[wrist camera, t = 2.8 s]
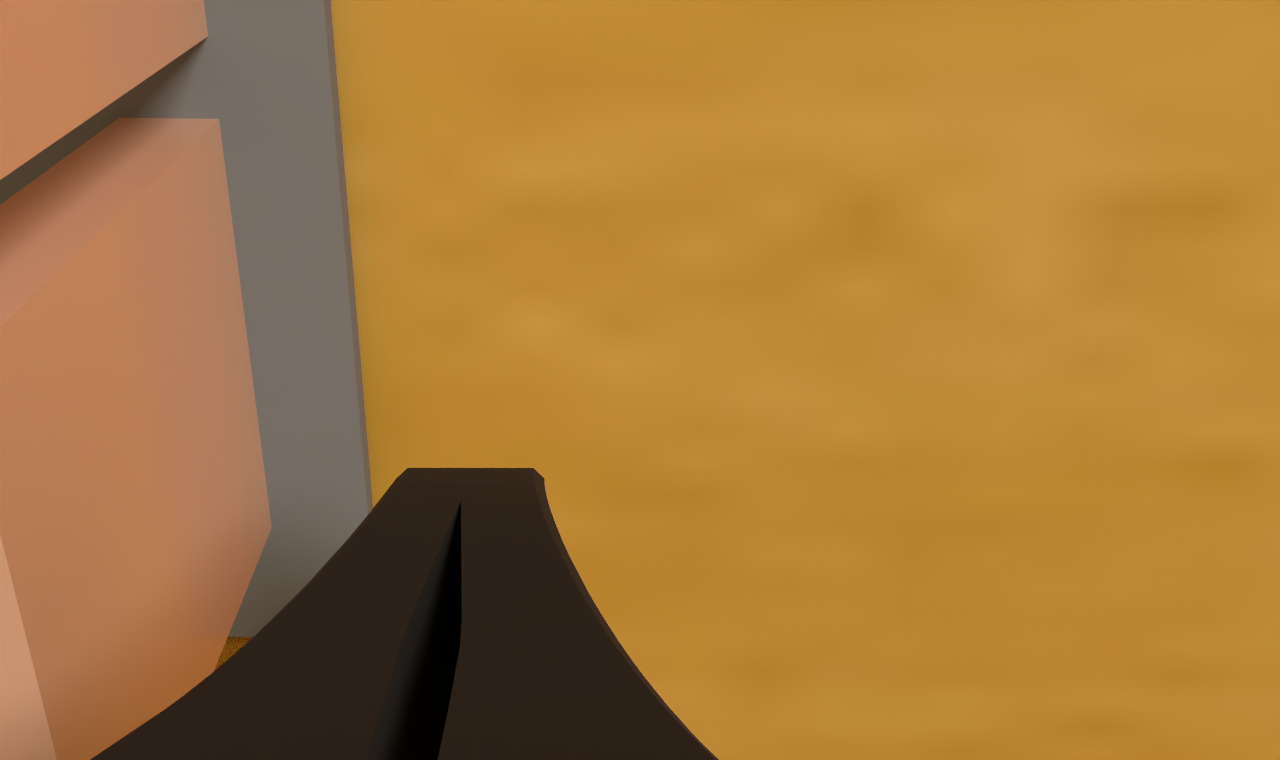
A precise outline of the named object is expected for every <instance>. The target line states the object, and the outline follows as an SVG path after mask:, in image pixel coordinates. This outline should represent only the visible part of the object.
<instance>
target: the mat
mask: <svg viewBox="0 0 1280 760" xmlns="http://www.w3.org/2000/svg"><path fill="white" fill-rule="evenodd" d="M204 7H205V15H206V23H207V30H208V37H206V38H205V39H203V40H202V41H200V42H199V43H198V44H196V45H195V46H193V47H192V48H190V49H189V50H187V51H186V52H185V53H183V54H182V55H180V56H179V57H177V58H176V59H174V60H173V61H171V62H170V63H169V64H167V65H166V66H164V67H163V68H161V69H160V70H158V71H157V72H156V73H154V74H153V75H151V76H150V77H148V78H147V79H145V80H144V81H143V82H141V83H140V84H138V85H137V86H135V87H134V88H132V89H131V90H130V91H128V92H127V93H125V94H124V95H122V96H121V97H119V98H118V99H117V100H115V101H114V102H112V103H111V104H109V105H108V106H106V107H105V108H104V109H102V110H101V111H99V112H98V113H96V114H95V115H93V116H92V117H91V118H89V119H88V120H86V121H85V122H83V123H82V124H80V125H79V126H78V127H76V128H75V129H73V130H72V131H70V132H69V133H67V134H66V135H65V136H63V137H62V138H60V139H59V140H57V141H56V142H54V143H53V144H52V145H50V146H49V147H47V148H46V149H44V150H43V151H41V152H40V153H38V154H37V155H36V156H34V157H33V158H31V159H30V160H28V161H27V162H25V163H24V164H23V165H21V166H20V167H18V168H17V169H15V170H14V171H12V172H11V173H10V174H8V175H7V176H5V177H4V178H2V179H1V180H0V205H1V204H2V203H4V202H5V201H6V200H8V199H9V198H11V197H12V196H13V195H15V194H16V193H17V192H19V191H20V190H21V189H23V188H24V187H26V186H27V185H28V184H30V183H31V182H32V181H34V180H35V179H36V178H38V177H39V176H40V175H42V174H43V173H45V172H46V171H47V170H49V169H50V168H51V167H53V166H54V165H55V164H57V163H58V162H59V161H61V160H62V159H64V158H65V157H66V156H68V155H69V154H70V153H72V152H73V151H74V150H76V149H77V148H79V147H80V146H81V145H83V144H84V143H85V142H87V141H88V140H89V139H91V138H92V137H93V136H95V135H96V134H98V133H99V132H100V131H102V130H103V129H104V128H106V127H107V126H108V125H110V124H111V123H112V122H114V121H115V120H117V119H118V118H119V117H121V118H184V119H219V123H220V131H221V139H222V146H223V154H224V162H225V169H226V177H227V185H228V193H229V200H230V208H231V216H232V224H233V231H234V239H235V247H236V254H237V262H238V270H239V278H240V285H241V293H242V301H243V309H244V316H245V324H246V332H247V339H248V347H249V355H250V363H251V370H252V378H253V386H254V394H255V401H256V409H257V417H258V424H259V432H260V440H261V448H262V455H263V463H264V471H265V479H266V486H267V494H268V502H269V509H270V517H271V525H272V528H271V530H270V533H269V535H268V538H267V540H266V543H265V545H264V548H263V550H262V553H261V555H260V558H259V560H258V563H257V565H256V568H255V570H254V573H253V575H252V578H251V580H250V583H249V585H248V588H247V590H246V593H245V595H244V598H243V600H242V603H241V605H240V608H239V610H238V613H237V615H236V618H235V620H234V623H233V625H232V628H231V630H230V633H229V635H228V637H254V636H255V635H256V634H257V633H258V632H259V631H260V630H261V629H262V628H263V627H264V626H265V625H266V624H267V623H268V622H269V621H270V620H271V619H272V618H273V617H274V616H275V615H276V614H277V613H278V612H279V611H280V610H281V609H282V608H284V607H285V606H286V605H287V604H288V603H289V602H290V601H291V600H292V599H293V598H294V597H295V596H296V595H297V594H298V593H299V592H300V591H301V590H302V589H303V588H304V587H305V586H306V585H307V584H308V582H309V581H310V580H311V579H312V578H313V577H314V576H315V575H316V574H317V573H318V572H319V570H320V569H321V568H322V567H323V566H324V565H325V564H326V563H327V562H328V560H329V559H330V558H331V557H332V556H333V555H334V554H335V553H336V552H337V550H338V549H339V548H340V547H341V546H342V545H343V544H344V543H345V542H346V540H347V539H348V538H349V537H350V536H351V534H352V533H353V532H354V531H355V530H356V529H357V527H358V526H359V525H360V524H361V523H362V521H363V520H364V519H365V518H366V517H367V515H368V514H369V513H370V512H371V510H372V509H373V507H372V495H371V483H370V471H369V459H368V447H367V435H366V423H365V411H364V399H363V387H362V375H361V363H360V351H359V339H358V327H357V315H356V303H355V292H354V280H353V268H352V256H351V244H350V232H349V220H348V208H347V196H346V184H345V172H344V160H343V148H342V136H341V124H340V112H339V100H338V88H337V76H336V64H335V52H334V40H333V28H332V16H331V4H330V0H204Z"/></svg>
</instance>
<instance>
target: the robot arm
mask: <svg viewBox="0 0 1280 760" xmlns="http://www.w3.org/2000/svg"><path fill="white" fill-rule="evenodd" d="M90 760H718V759H717V758H716V757H715V756H714V755H713V754H712V753H711V752H710V751H709V750H708V749H707V748H706V747H705V746H704V745H703V744H702V743H701V742H700V741H699V740H698V739H697V738H696V737H695V736H694V735H693V734H692V733H691V732H690V731H689V729H688V728H687V727H686V726H685V725H684V724H683V723H682V721H681V720H680V719H679V718H678V717H677V716H676V715H675V714H674V712H673V711H672V710H671V709H670V708H669V707H668V706H667V705H666V703H665V702H664V701H663V700H662V699H661V697H660V696H659V695H658V694H657V692H656V691H655V690H654V689H653V687H652V686H651V685H650V684H649V682H648V681H647V680H646V679H645V677H644V676H643V675H642V673H641V672H640V671H639V669H638V668H637V667H636V665H635V664H634V663H633V661H632V660H631V659H630V657H629V656H628V654H627V653H626V651H625V650H624V649H623V647H622V646H621V644H620V643H619V641H618V640H617V638H616V637H615V635H614V634H613V632H612V630H611V629H610V627H609V626H608V624H607V623H606V621H605V620H604V618H603V617H602V615H601V613H600V612H599V610H598V608H597V607H596V605H595V603H594V602H593V600H592V598H591V596H590V595H589V593H588V591H587V589H586V587H585V585H584V583H583V582H582V580H581V578H580V576H579V574H578V572H577V570H576V568H575V566H574V564H573V562H572V560H571V559H570V557H569V555H568V552H567V550H566V548H565V546H564V544H563V541H562V539H561V537H560V534H559V532H558V529H557V527H556V524H555V522H554V519H553V516H552V513H551V510H550V507H549V504H548V500H547V497H546V492H545V486H544V478H543V477H542V476H541V475H540V474H539V473H538V472H537V471H536V470H535V469H534V468H407V469H406V470H405V471H404V472H403V473H402V474H401V475H400V476H399V477H397V478H396V480H395V481H394V482H393V484H392V485H391V486H390V488H389V489H388V490H387V491H386V493H385V494H384V495H383V497H382V498H381V499H380V500H379V502H378V503H377V504H376V505H375V507H374V508H373V509H372V510H371V512H370V513H369V514H368V515H367V517H366V518H365V519H364V520H363V521H362V523H361V524H360V525H359V526H358V527H357V529H356V530H355V531H354V532H353V533H352V534H351V536H350V537H349V538H348V539H347V540H346V542H345V543H344V544H343V545H342V546H341V547H340V548H339V549H338V550H337V552H336V553H335V554H334V555H333V556H332V557H331V558H330V559H329V560H328V562H327V563H326V564H325V565H324V566H323V567H322V568H321V569H320V570H319V572H318V573H317V574H316V575H315V576H314V577H313V578H312V579H311V580H310V581H309V582H308V584H307V585H306V586H305V587H304V588H303V589H302V590H301V591H300V592H299V593H298V594H297V595H296V596H295V597H294V598H293V599H292V600H291V601H290V602H289V603H288V604H287V605H286V606H285V607H284V608H282V609H281V610H280V611H279V612H278V613H277V614H276V615H275V616H274V617H273V618H272V619H271V620H270V621H269V622H268V623H267V624H266V625H265V626H264V627H263V628H262V629H261V630H260V631H259V632H258V633H257V634H256V635H255V636H254V637H253V638H252V639H250V640H249V641H248V642H247V643H246V644H245V645H244V646H243V647H242V648H240V649H239V650H238V651H237V652H236V653H235V654H234V655H233V656H231V657H230V658H229V659H228V660H227V661H226V662H225V663H223V664H222V665H221V666H220V667H219V668H217V669H216V670H215V671H214V672H213V673H211V674H210V675H209V676H208V677H206V678H205V679H204V680H203V681H201V682H200V683H199V684H198V685H196V686H195V687H194V688H192V689H191V690H190V691H189V692H187V693H186V694H185V695H184V696H182V697H181V698H180V699H178V700H177V701H175V702H174V703H173V704H171V705H170V706H169V707H167V708H166V709H165V710H163V711H162V712H160V713H159V714H157V715H156V716H154V717H153V718H151V719H150V720H148V721H147V722H145V723H144V724H142V725H141V726H139V727H138V728H136V729H135V730H133V731H132V732H130V733H129V734H127V735H126V736H124V737H123V738H121V739H120V740H118V741H117V742H115V743H114V744H112V745H111V746H109V747H108V748H106V749H105V750H103V751H102V752H101V753H99V754H98V755H96V756H95V757H93V758H92V759H90Z"/></svg>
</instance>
